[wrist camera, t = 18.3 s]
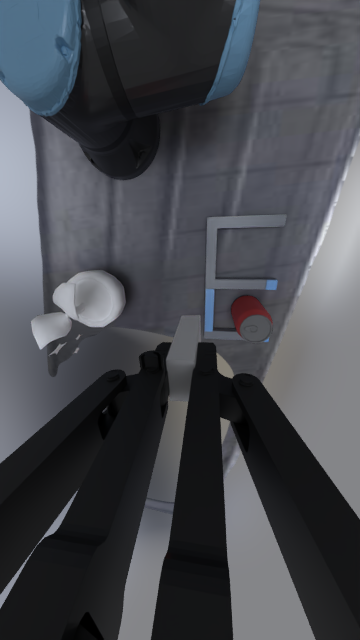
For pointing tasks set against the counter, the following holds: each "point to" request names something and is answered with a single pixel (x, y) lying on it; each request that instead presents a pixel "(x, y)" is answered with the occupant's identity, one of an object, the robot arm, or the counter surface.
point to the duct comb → (232, 283)
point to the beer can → (251, 319)
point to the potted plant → (81, 306)
